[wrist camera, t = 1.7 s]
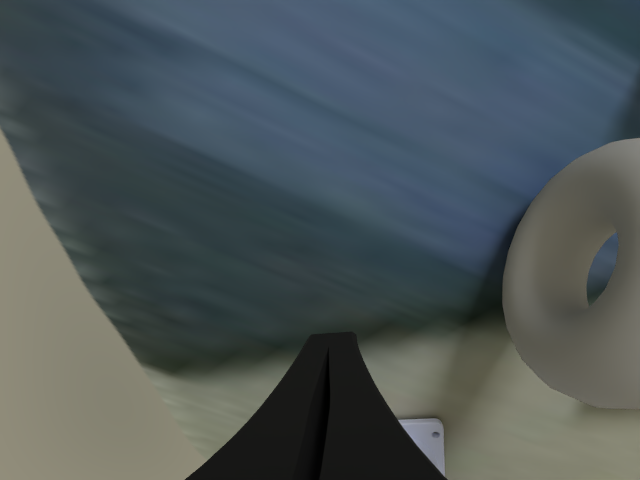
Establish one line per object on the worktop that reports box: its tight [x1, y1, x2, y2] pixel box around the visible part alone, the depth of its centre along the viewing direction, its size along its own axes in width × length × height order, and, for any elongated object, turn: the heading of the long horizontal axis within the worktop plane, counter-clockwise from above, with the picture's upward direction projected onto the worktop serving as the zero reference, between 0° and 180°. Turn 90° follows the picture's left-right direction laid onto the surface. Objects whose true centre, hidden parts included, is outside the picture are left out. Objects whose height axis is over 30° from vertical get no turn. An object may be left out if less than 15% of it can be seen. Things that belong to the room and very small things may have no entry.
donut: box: [502, 138, 640, 409], centre depth 14 cm, size 10×4×10 cm, turn 166°
